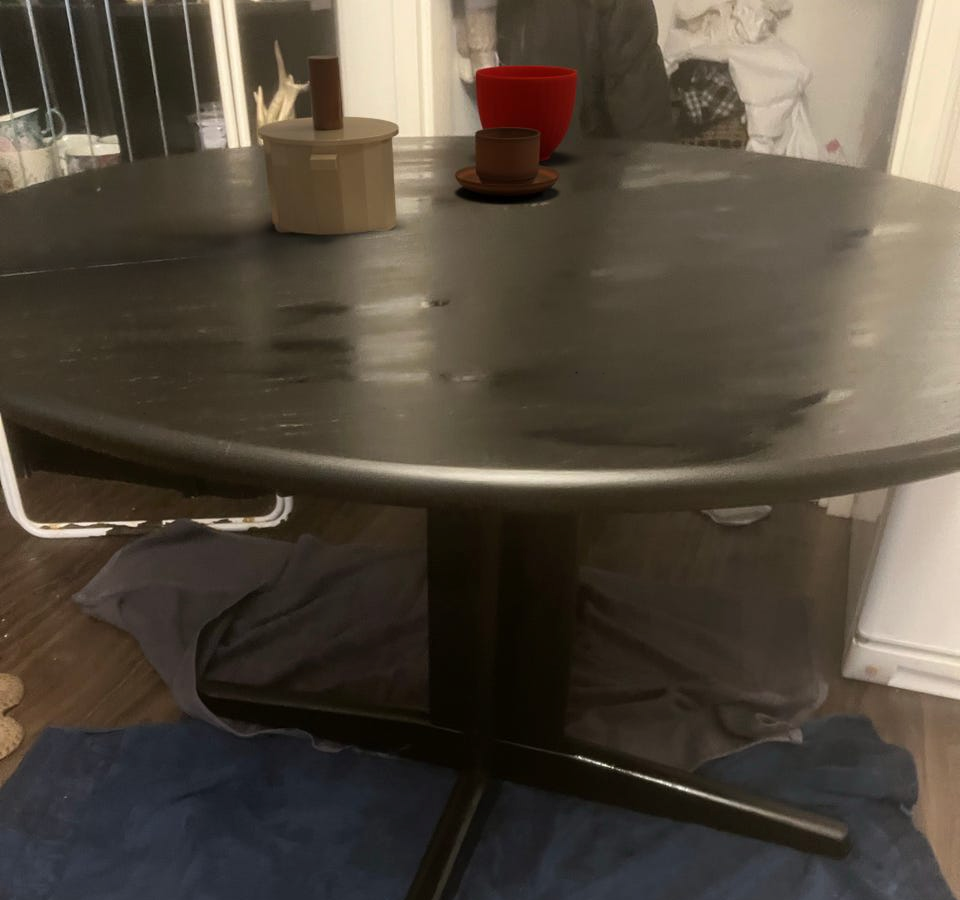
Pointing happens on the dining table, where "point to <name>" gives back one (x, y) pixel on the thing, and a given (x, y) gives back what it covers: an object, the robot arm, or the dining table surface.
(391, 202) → the pot
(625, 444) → the dining table surface
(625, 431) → the dining table surface
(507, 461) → the dining table surface
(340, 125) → the lid
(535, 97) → the ceramic cup
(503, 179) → the cup and saucer
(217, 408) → the dining table surface
